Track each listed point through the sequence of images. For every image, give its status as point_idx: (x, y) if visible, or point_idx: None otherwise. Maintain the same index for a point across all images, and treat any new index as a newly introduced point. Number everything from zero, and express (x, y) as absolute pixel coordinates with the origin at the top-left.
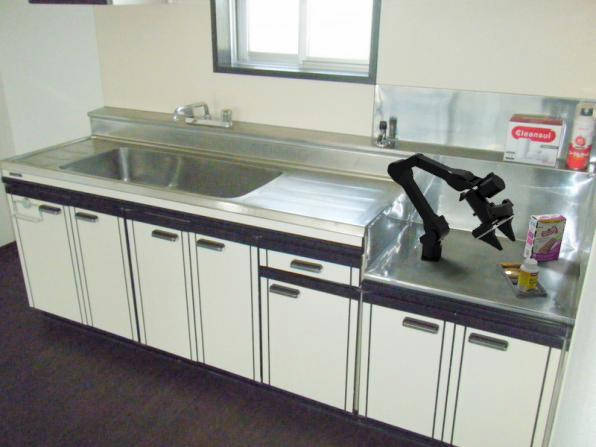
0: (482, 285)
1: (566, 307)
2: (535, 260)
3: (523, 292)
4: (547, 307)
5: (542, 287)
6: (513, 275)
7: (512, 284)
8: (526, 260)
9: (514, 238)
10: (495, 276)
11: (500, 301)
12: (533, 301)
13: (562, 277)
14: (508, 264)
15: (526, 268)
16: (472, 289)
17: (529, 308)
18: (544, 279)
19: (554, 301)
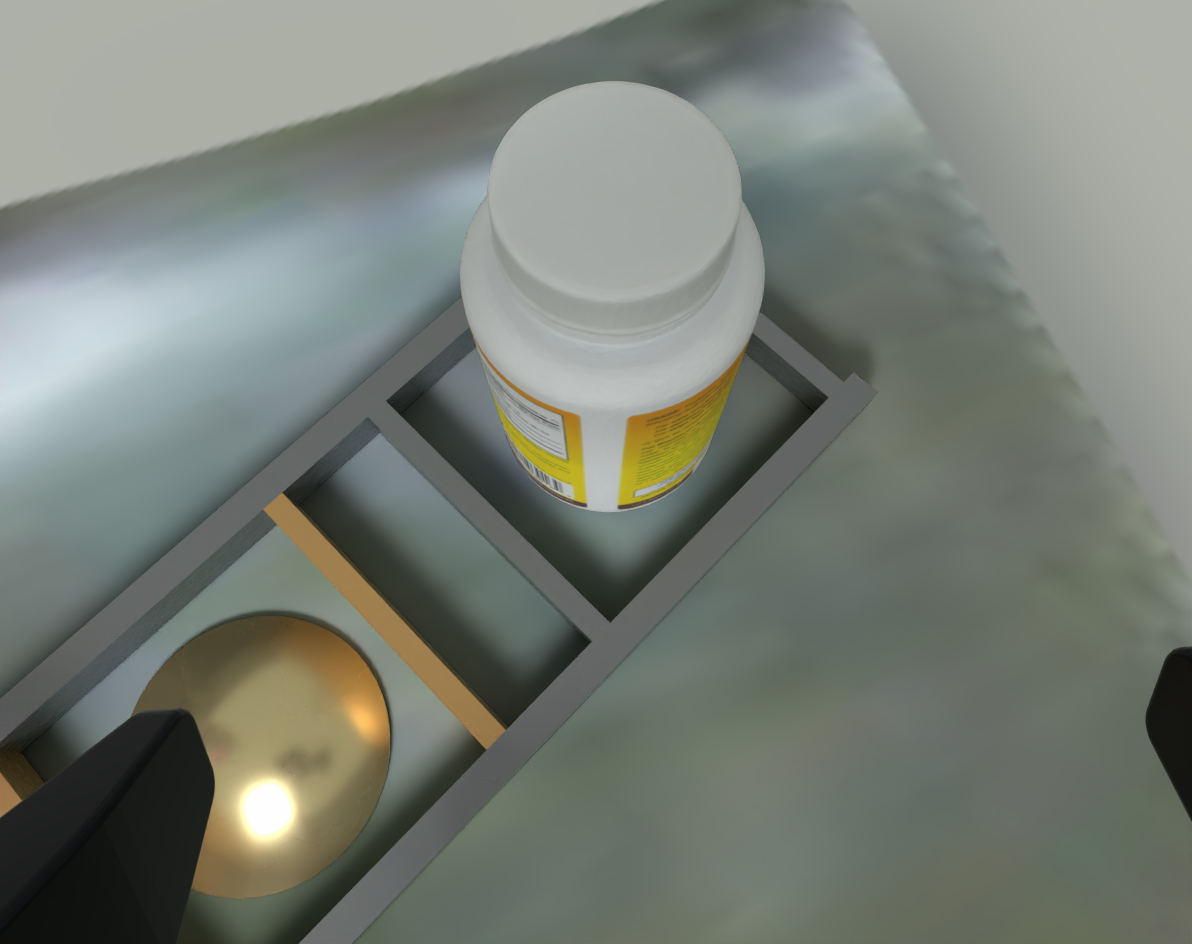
0: (940, 869)
1: (656, 9)
2: (520, 140)
3: (783, 355)
4: (796, 114)
5: None
6: (443, 665)
7: (700, 543)
8: (656, 249)
9: (148, 755)
10: (564, 882)
11: (1094, 484)
12: (795, 248)
13: (27, 272)
14: None
15: (733, 255)
16: (1150, 909)
17: (959, 214)
18: (210, 386)
19: None
